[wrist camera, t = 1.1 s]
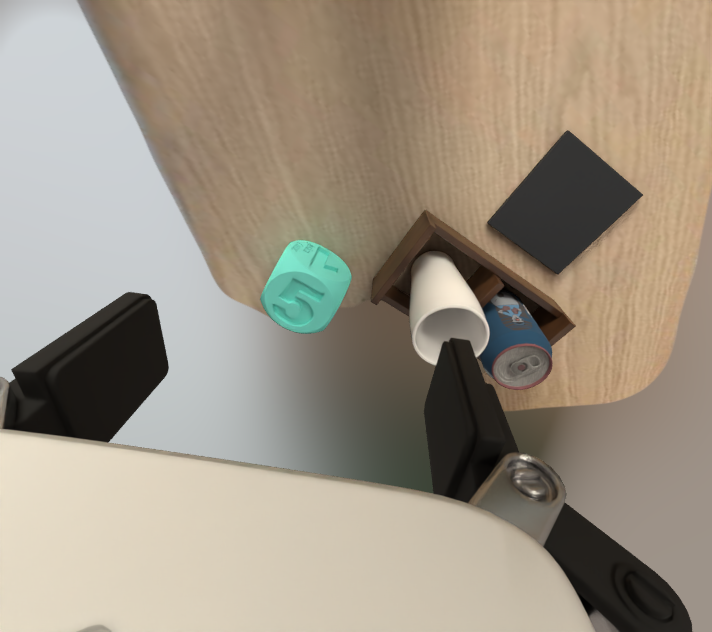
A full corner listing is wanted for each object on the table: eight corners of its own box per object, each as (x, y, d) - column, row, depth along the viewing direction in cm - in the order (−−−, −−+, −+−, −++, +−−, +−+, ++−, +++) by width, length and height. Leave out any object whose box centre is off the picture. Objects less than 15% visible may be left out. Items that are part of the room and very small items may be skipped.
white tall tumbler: (471, 273, 43) (505, 345, 30) (425, 303, 45) (438, 380, 33) (440, 231, 40) (464, 289, 28) (393, 265, 43) (395, 331, 30)
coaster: (566, 130, 34) (568, 130, 34) (640, 194, 37) (643, 195, 36) (487, 222, 39) (488, 223, 39) (556, 273, 42) (558, 274, 41)
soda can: (479, 339, 48) (503, 403, 37) (455, 302, 45) (474, 360, 35) (529, 315, 45) (570, 377, 35) (506, 275, 43) (543, 328, 32)
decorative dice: (355, 263, 43) (348, 293, 37) (326, 310, 47) (315, 345, 40) (297, 231, 42) (279, 255, 35) (272, 282, 46) (252, 313, 39)
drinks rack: (425, 209, 39) (430, 224, 34) (554, 300, 44) (576, 326, 39) (372, 279, 44) (370, 301, 39) (493, 355, 49) (505, 384, 44)
